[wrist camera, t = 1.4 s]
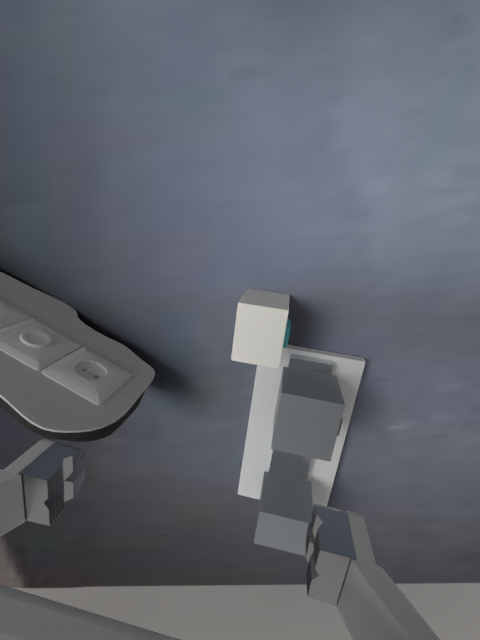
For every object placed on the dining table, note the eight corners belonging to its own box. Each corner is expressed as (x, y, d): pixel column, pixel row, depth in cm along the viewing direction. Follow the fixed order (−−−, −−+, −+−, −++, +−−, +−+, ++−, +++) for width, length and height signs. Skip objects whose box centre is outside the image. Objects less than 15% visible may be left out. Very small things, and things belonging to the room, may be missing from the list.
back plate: (261, 340, 31) (260, 343, 30) (363, 357, 30) (365, 361, 29) (238, 487, 37) (237, 494, 36) (323, 507, 36) (324, 514, 35)
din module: (248, 288, 30) (238, 302, 24) (293, 295, 30) (294, 311, 24) (242, 336, 32) (231, 360, 26) (285, 343, 31) (283, 369, 25)
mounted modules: (283, 366, 30) (281, 392, 25) (340, 376, 29) (350, 405, 24) (259, 499, 35) (253, 543, 30) (307, 511, 34) (310, 557, 29)
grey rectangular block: (290, 353, 30) (290, 357, 29) (332, 360, 30) (333, 365, 29) (263, 496, 36) (262, 504, 35) (298, 505, 35) (298, 512, 34)
